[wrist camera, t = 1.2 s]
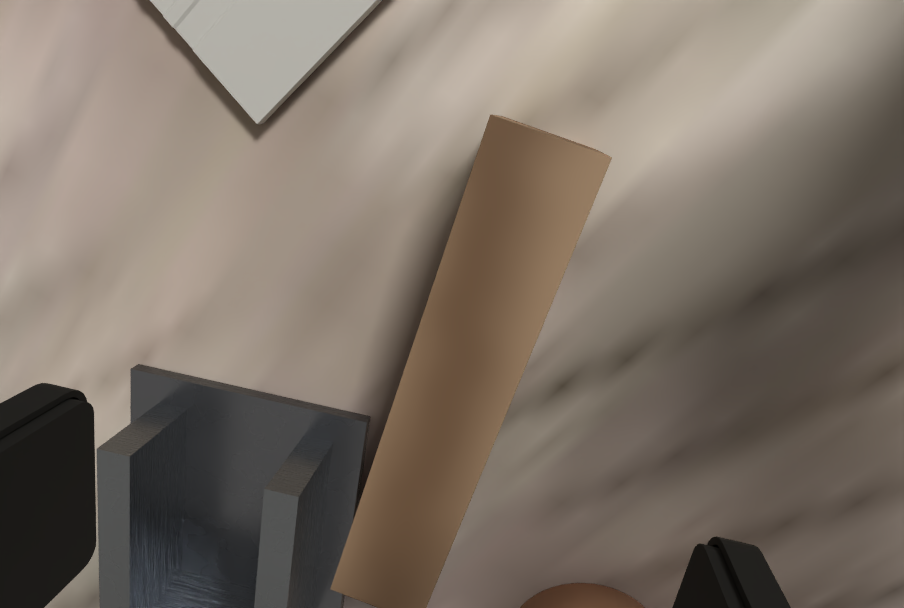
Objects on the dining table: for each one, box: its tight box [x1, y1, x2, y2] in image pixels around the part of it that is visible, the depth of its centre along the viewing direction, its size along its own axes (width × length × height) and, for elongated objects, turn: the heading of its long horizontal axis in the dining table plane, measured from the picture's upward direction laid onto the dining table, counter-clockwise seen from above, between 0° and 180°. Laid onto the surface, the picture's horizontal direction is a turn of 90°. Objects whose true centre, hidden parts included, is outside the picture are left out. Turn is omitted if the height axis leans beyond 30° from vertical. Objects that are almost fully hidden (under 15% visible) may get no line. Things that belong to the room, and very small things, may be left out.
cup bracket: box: [97, 364, 370, 608], centre depth 29 cm, size 12×14×5 cm
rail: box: [330, 115, 612, 608], centre depth 25 cm, size 4×20×6 cm, turn 162°
